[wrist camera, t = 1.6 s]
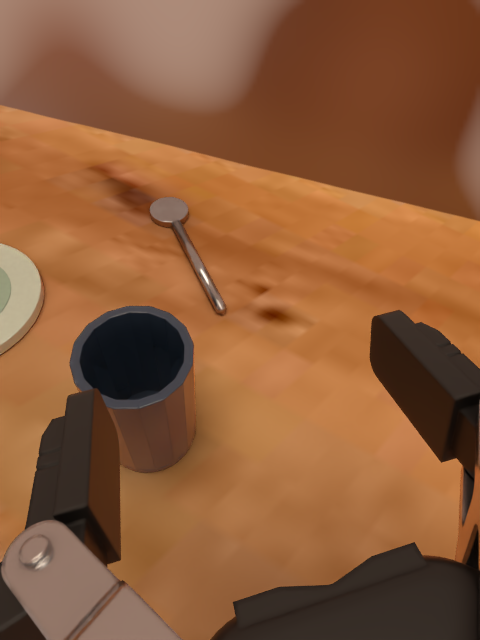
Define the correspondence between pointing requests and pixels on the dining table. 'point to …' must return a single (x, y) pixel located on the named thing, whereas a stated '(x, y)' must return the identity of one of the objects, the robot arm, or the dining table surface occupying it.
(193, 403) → the tumbler
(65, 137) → the dining table surface
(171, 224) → the spoon
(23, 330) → the side plate
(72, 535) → the robot arm
